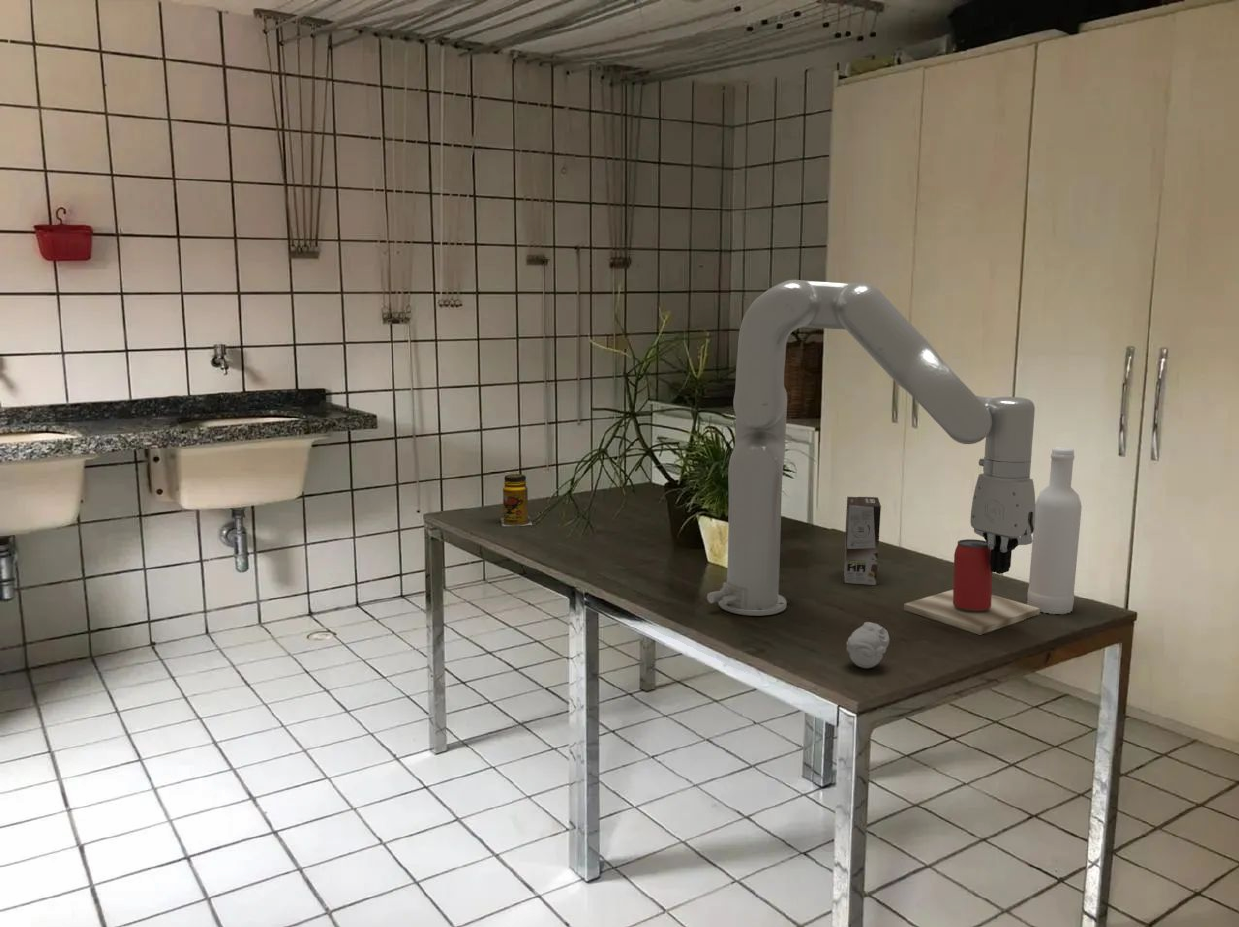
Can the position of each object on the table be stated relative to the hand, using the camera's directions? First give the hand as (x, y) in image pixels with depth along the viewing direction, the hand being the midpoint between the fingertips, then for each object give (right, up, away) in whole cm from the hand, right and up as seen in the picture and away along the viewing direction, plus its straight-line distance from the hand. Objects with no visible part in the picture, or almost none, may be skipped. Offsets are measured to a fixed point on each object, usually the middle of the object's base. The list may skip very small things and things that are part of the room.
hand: (999, 571), depth 176 cm
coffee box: (-18, -5, +27) cm, 33 cm away
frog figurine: (-28, -13, -19) cm, 36 cm away
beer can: (-3, -7, +5) cm, 9 cm away
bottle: (+13, -8, +9) cm, 18 cm away
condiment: (-93, +4, +72) cm, 118 cm away
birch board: (-3, -8, +7) cm, 11 cm away
